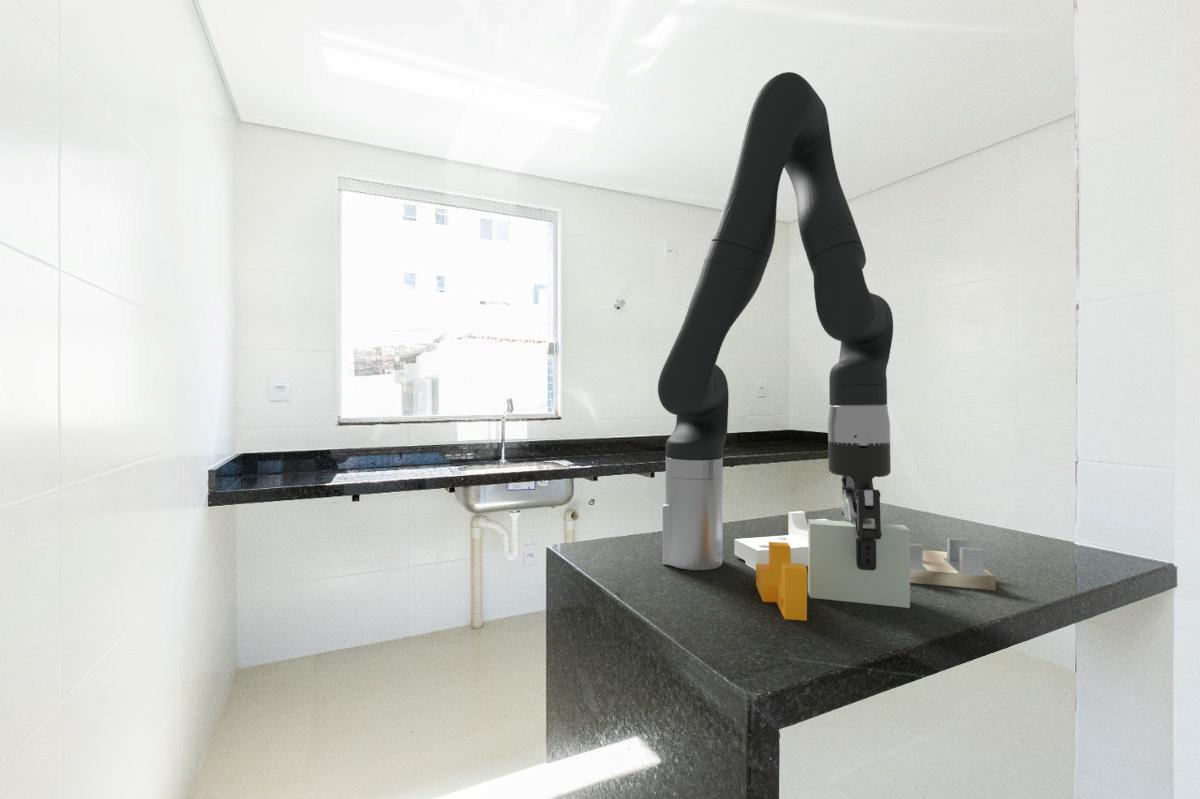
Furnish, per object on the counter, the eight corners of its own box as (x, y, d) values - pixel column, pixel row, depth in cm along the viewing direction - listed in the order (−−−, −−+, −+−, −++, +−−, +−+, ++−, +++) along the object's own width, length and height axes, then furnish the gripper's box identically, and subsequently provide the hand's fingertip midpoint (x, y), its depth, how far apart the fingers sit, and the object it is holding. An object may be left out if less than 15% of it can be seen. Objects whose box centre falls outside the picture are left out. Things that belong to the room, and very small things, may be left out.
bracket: (801, 554, 94) (801, 511, 94) (828, 566, 87) (828, 520, 87) (734, 560, 91) (734, 515, 91) (757, 573, 84) (757, 524, 84)
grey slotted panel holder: (898, 568, 79) (898, 544, 79) (888, 555, 85) (888, 533, 85) (987, 575, 76) (987, 550, 76) (970, 562, 82) (970, 539, 82)
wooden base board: (891, 581, 79) (891, 567, 79) (875, 558, 91) (875, 546, 91) (995, 590, 75) (995, 576, 75) (965, 565, 87) (965, 553, 87)
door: (810, 600, 72) (810, 525, 72) (808, 590, 76) (808, 519, 76) (911, 611, 68) (912, 532, 68) (904, 600, 72) (904, 525, 72)
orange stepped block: (756, 586, 78) (756, 541, 78) (787, 587, 77) (787, 542, 77) (769, 619, 66) (769, 566, 66) (806, 622, 65) (806, 568, 65)
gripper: (822, 435, 80) (824, 545, 80) (835, 442, 67) (837, 573, 67) (878, 436, 78) (880, 548, 78) (902, 443, 65) (905, 578, 64)
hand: (860, 559), depth 72 cm, fingers open, 8 cm apart
